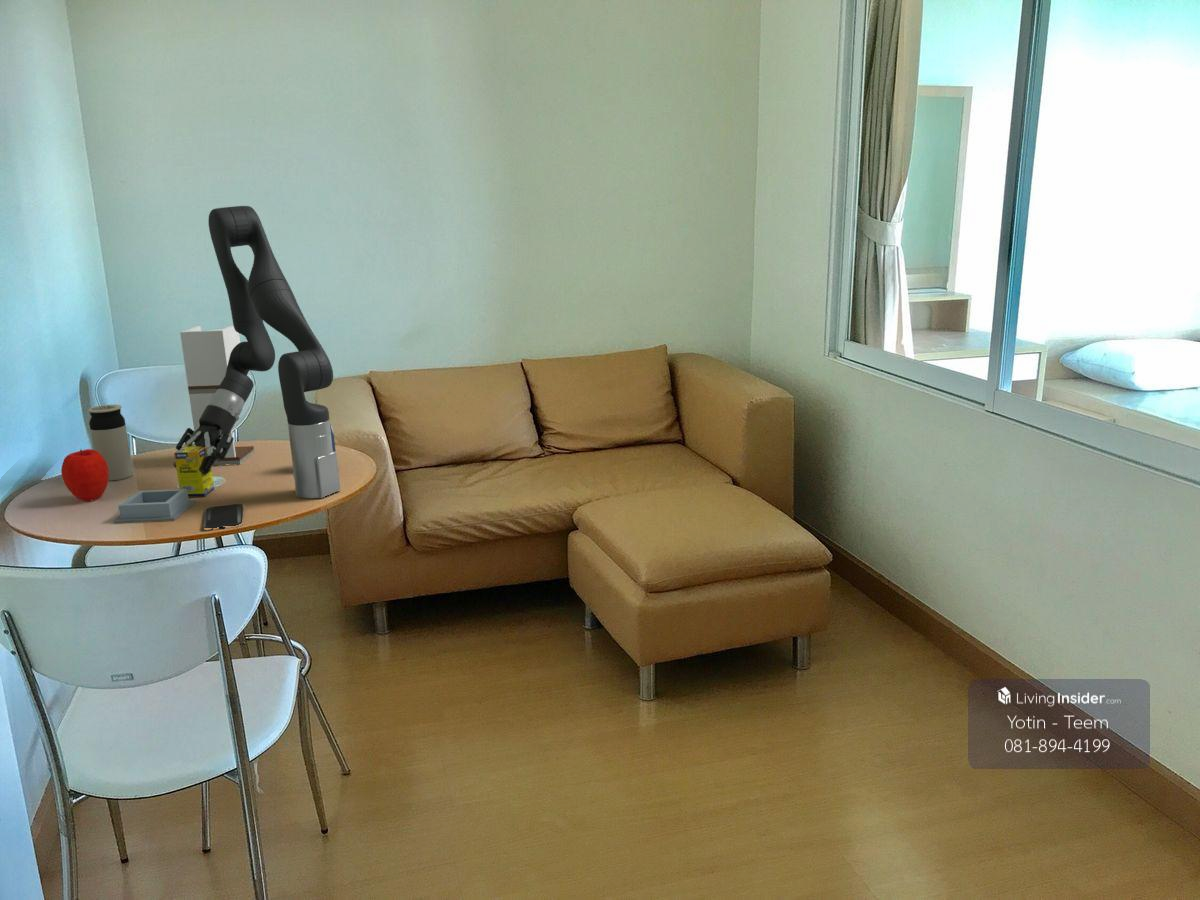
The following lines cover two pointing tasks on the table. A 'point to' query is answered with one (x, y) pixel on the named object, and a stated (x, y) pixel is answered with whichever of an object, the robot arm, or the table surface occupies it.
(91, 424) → the travel mug
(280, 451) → the table surface
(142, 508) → the holder
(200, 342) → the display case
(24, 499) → the table surface
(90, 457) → the apple
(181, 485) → the supplement box
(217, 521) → the phone
